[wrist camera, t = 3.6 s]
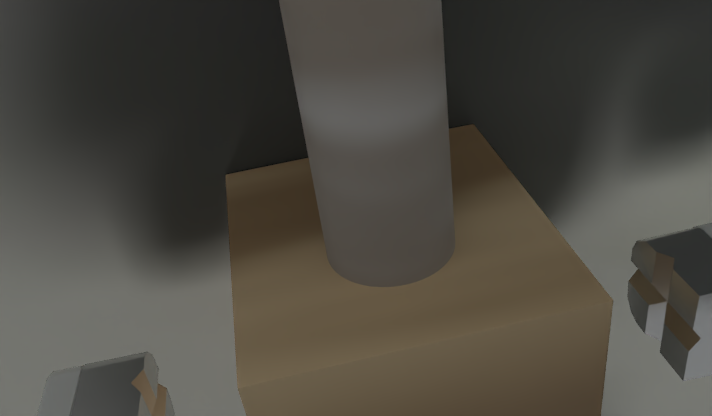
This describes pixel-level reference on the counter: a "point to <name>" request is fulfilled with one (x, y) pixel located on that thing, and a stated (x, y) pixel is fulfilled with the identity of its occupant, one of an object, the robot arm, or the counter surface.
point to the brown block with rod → (401, 246)
